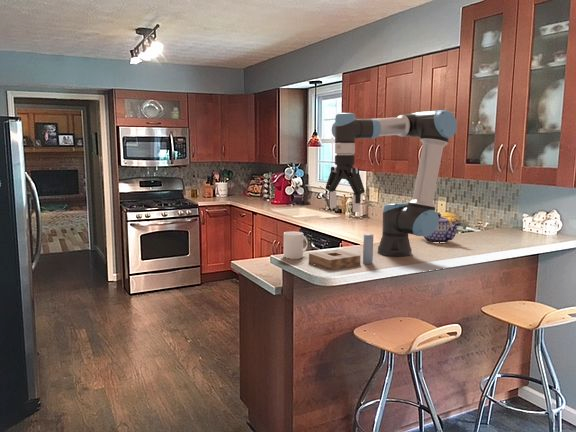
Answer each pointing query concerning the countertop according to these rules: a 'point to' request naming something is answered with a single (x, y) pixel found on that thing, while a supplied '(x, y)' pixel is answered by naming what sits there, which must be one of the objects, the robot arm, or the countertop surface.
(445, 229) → the teapot
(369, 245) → the dowel
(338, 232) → the countertop surface
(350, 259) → the board
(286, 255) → the mug
